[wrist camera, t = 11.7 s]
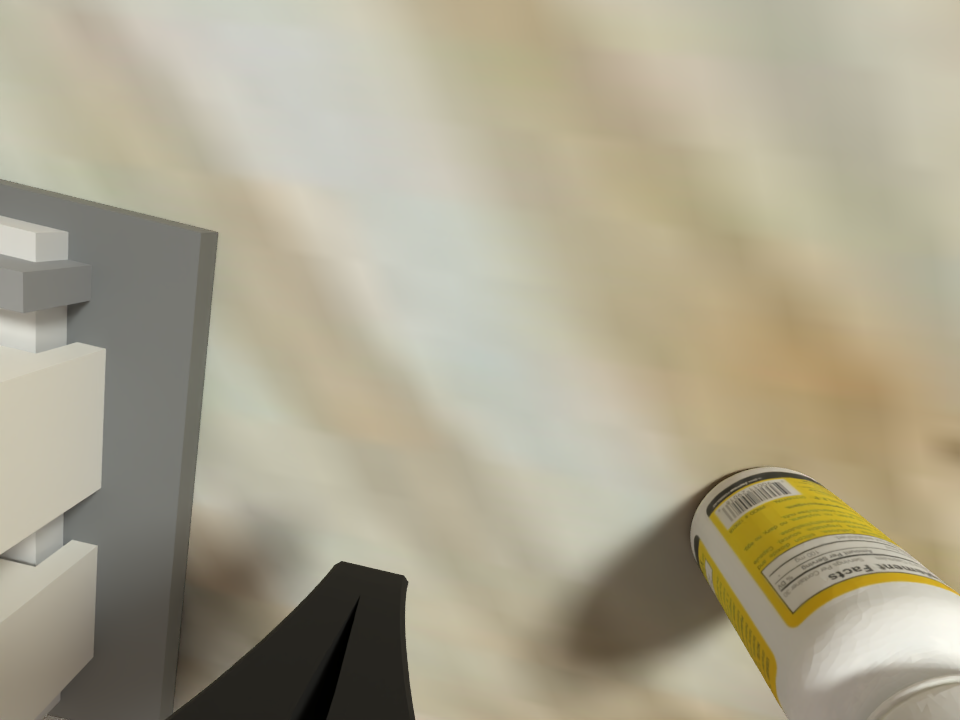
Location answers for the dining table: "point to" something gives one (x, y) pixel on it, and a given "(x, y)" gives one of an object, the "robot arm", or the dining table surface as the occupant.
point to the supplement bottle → (828, 602)
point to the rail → (106, 455)
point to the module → (48, 434)
